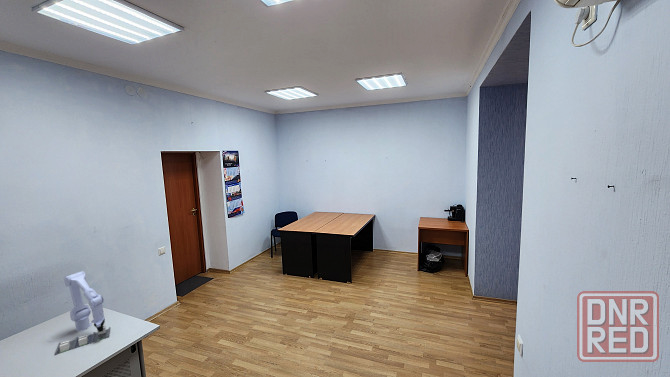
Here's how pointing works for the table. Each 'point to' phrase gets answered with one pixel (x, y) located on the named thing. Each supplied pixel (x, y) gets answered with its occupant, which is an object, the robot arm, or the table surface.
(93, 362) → the table surface
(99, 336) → the panel
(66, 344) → the breaker right
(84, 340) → the block
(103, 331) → the breaker
